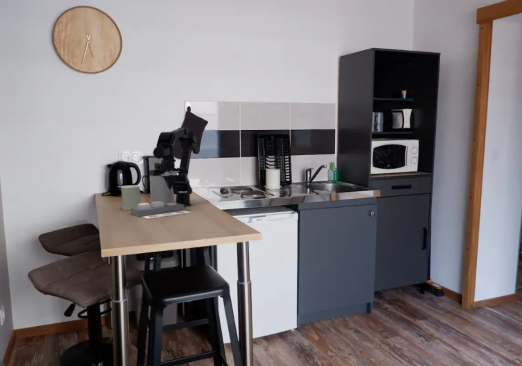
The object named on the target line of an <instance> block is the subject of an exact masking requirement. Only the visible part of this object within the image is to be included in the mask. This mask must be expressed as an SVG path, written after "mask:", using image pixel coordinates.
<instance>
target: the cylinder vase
mask: <svg viewBox="0 0 522 366" xmlns="http://www.w3.org/2000/svg"><path fill="white" fill-rule="evenodd" d="M161 160H163V158H161V159H157V158H155V157H148V167H149V171H150V170H155V168H154V163H159V164H160V163H161ZM170 171H172V170H170ZM149 189H150V203H151V202H157V201H161V202H164V204H165V203H173V202H175V194H174V192H173V188H171V189H168V186H167V184H166V181H165V179H164V178H163V177H161V176H149Z"/></svg>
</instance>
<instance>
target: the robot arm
mask: <svg viewBox="0 0 522 366" xmlns="http://www.w3.org/2000/svg"><path fill="white" fill-rule="evenodd" d="M177 140H178V141H179V142H180V147H181V150H182V152H181V158H180V164H179V167H176V165H175V164H176V163H175V162H176V161H177V160H176V159H175V148H176V146H175V145H174V144H175V143H176V142H177ZM197 143H198V138H197V136H196V134H195V133H194V132H192V130H190V129H189V128H188V127H178V128H177V129H174V130H171V131H161V132H160V133H159V136H158V139H157V143H156V147H154V148H153V150H152V155H153V158H157V159H161V158H163V160H161V163H160V164H159V163H154V168H155V170H150V171H149V172H148V175H149V177H150V176H161V177H163V178H164V179H165V181H166V184H167V186H168V189H171V188H173V192H174V195H175V203H179V204H183V205H184V207H188V206H192V203H191V195H192V194H193V188H192V186H191V184H190V179H189V176H188V175H189V170H190V169H189V167H190V162H191V156H192V152H193V151H194V150H195V148H196V147H197ZM170 170H172V171H170Z"/></svg>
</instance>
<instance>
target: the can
mask: <svg viewBox="0 0 522 366" xmlns="http://www.w3.org/2000/svg"><path fill="white" fill-rule="evenodd" d="M140 187H141V186H140V185H139V184H137V185H136V184H135V185H134V184H133V185H131V184H130V185H122V186H121V201H122V204H121V205H122V206H121V207H122V210H123V211H131V208H134V207H138V204H141V193H140V192H141V191H140V190H141V189H140Z"/></svg>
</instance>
